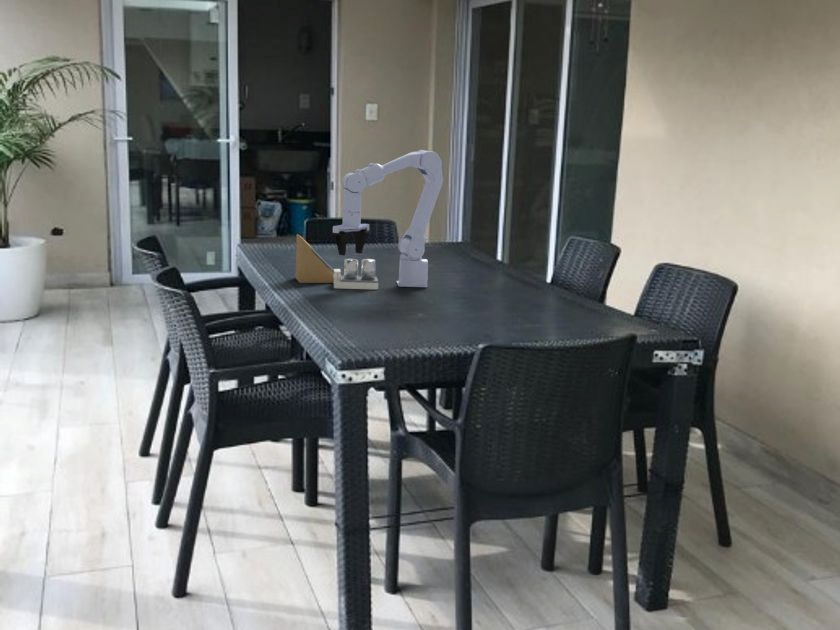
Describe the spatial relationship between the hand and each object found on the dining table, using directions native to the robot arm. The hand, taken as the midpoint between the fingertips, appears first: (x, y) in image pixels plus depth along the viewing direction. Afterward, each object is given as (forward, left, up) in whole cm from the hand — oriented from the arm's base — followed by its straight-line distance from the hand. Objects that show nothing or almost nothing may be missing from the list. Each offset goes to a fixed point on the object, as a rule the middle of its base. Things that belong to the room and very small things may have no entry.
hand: (350, 254), depth 279 cm
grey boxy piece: (-2, 0, -10) cm, 11 cm away
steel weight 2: (-6, 0, -8) cm, 10 cm away
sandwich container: (+9, -9, -11) cm, 17 cm away
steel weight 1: (0, 0, -8) cm, 8 cm away
